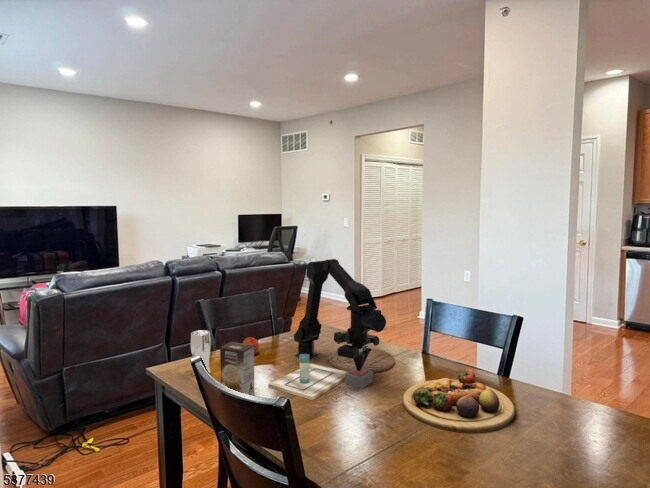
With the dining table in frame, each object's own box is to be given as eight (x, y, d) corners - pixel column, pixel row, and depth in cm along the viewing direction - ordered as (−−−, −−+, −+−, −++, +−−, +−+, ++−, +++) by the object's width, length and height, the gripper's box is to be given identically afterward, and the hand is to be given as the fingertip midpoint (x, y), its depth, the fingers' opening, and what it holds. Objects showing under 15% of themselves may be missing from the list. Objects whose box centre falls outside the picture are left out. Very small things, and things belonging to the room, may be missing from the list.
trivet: (404, 359, 176) (404, 354, 176) (377, 380, 155) (377, 374, 155) (349, 348, 189) (349, 344, 189) (316, 366, 168) (316, 361, 168)
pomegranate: (245, 363, 177) (265, 347, 178) (233, 349, 177) (253, 333, 178) (246, 359, 185) (265, 343, 186) (235, 345, 184) (254, 329, 185)
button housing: (355, 376, 157) (355, 367, 157) (373, 381, 153) (373, 371, 153) (344, 383, 151) (344, 373, 151) (363, 388, 147) (363, 377, 147)
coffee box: (219, 396, 142) (218, 346, 140) (232, 388, 147) (231, 341, 146) (244, 401, 138) (242, 350, 136) (255, 393, 144) (254, 344, 142)
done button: (356, 376, 155) (356, 367, 155) (367, 378, 153) (367, 370, 152) (350, 380, 152) (350, 371, 151) (361, 382, 149) (361, 373, 149)
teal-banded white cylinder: (303, 378, 152) (303, 353, 152) (311, 381, 151) (311, 354, 150) (297, 382, 150) (297, 355, 149) (305, 384, 148) (305, 357, 147)
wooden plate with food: (439, 377, 157) (439, 354, 156) (533, 406, 134) (533, 379, 133) (380, 409, 135) (380, 382, 134) (481, 449, 112) (481, 417, 111)
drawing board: (310, 365, 168) (310, 362, 168) (352, 375, 158) (352, 372, 158) (268, 387, 149) (268, 383, 149) (312, 400, 139) (312, 396, 138)
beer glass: (214, 370, 164) (213, 330, 163) (207, 377, 157) (206, 335, 156) (196, 369, 165) (194, 329, 164) (188, 376, 158) (187, 335, 157)
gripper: (352, 316, 163) (352, 358, 164) (323, 327, 147) (323, 374, 149) (380, 320, 157) (379, 364, 158) (352, 333, 141) (352, 381, 143)
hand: (359, 370), depth 152 cm, fingers closed
